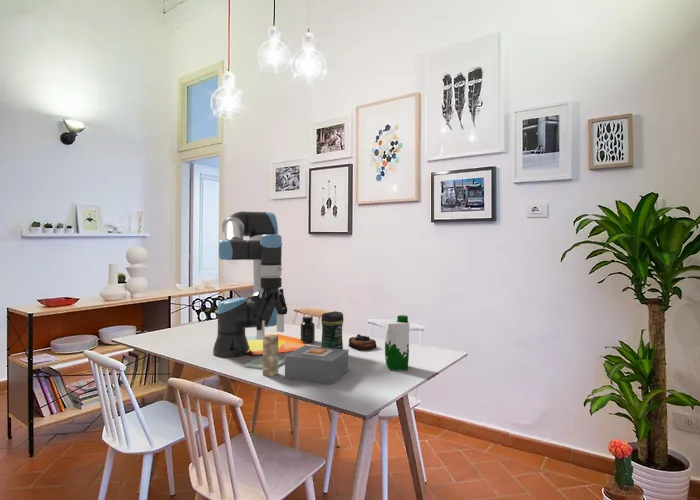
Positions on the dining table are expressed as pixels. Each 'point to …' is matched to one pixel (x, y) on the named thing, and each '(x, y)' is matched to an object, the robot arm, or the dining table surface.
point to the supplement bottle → (308, 330)
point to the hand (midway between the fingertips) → (270, 335)
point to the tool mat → (261, 363)
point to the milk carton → (397, 343)
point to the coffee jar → (332, 330)
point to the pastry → (362, 343)
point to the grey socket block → (316, 365)
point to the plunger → (317, 351)
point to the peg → (270, 355)
